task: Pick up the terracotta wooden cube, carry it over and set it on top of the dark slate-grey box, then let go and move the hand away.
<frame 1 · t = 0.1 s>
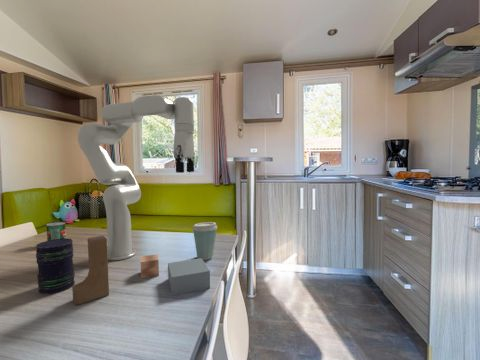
hand: (185, 172, 101), 37 cm above the table, tool pointing down, fingers open, 9 cm apart
terracotta cube: (150, 273, 92), on the table
canned tomato: (57, 245, 128), on the table
slate box: (188, 284, 84), on the table
disposable coffee cup: (205, 257, 108), on the table
storage jar: (57, 287, 83), on the table
wooden block: (91, 298, 76), on the table
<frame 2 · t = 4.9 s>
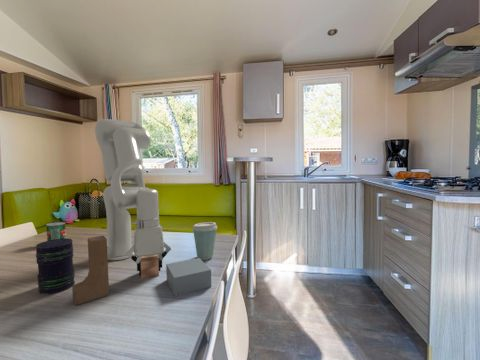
hand: (149, 270, 92), 1 cm above the table, tool pointing down, fingers closed on terracotta cube, 6 cm apart
terracotta cube: (150, 273, 92), on the table, touching gripper
everything else where it was.
when the fingers open (8 cm above the table, at t = 14.4 s): terracotta cube drops 1 cm, resting on slate box.
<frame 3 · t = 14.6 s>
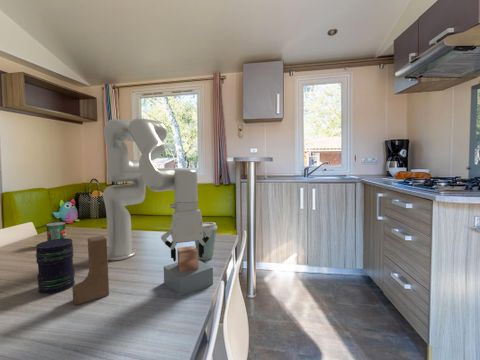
hand: (187, 257, 84), 9 cm above the table, tool pointing down, fingers open, 8 cm apart
terracotta cube: (187, 267, 84), point 6 cm above the table, touching slate box
slate box: (188, 284, 84), on the table, touching terracotta cube
everything else where it was.
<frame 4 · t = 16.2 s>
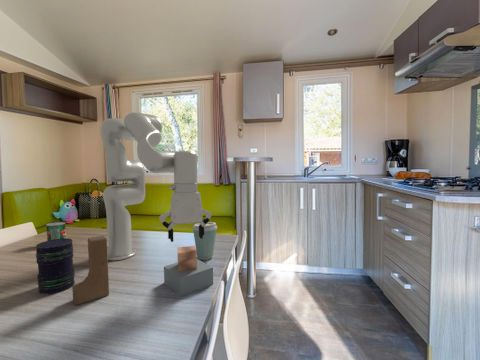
hand: (186, 239, 83), 15 cm above the table, tool pointing down, fingers open, 9 cm apart
terracotta cube: (187, 266, 84), point 6 cm above the table
slate box: (188, 284, 84), on the table
everything else where it was.
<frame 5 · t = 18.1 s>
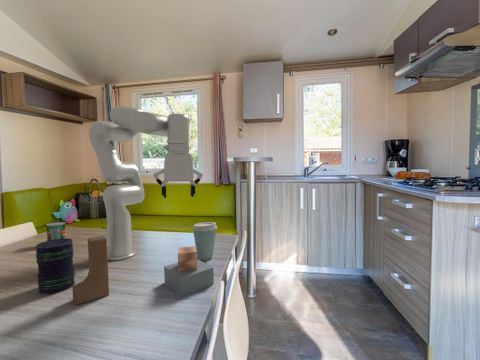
hand: (178, 196, 90), 28 cm above the table, tool pointing down, fingers open, 9 cm apart
nothing on the table moved.
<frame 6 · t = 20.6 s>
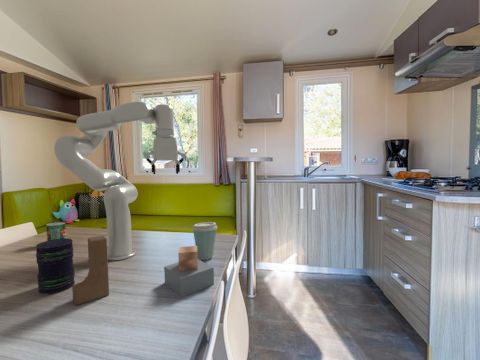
hand: (166, 173, 108), 36 cm above the table, tool pointing down, fingers open, 9 cm apart
nothing on the table moved.
at the end: terracotta cube inside the target area on the slate box (0.3 cm from its centre), point 6.0 cm above the slate box's base; terracotta cube tilted 0°; the gripper is holding nothing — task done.
